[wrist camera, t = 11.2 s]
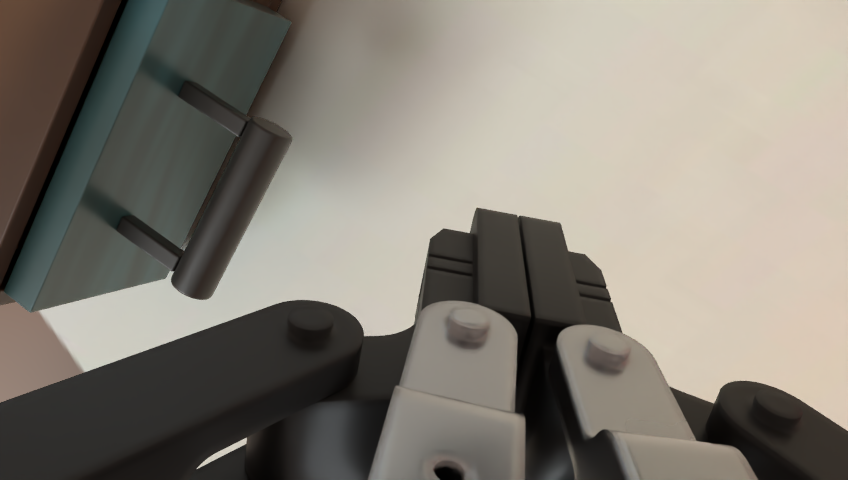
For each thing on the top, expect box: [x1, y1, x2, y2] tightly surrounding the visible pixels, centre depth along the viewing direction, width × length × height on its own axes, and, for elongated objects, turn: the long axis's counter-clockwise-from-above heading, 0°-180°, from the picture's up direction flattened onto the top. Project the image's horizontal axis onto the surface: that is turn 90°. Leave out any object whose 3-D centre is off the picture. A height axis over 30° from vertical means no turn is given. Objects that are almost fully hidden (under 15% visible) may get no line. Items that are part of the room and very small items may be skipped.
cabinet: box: [0, 0, 282, 305], centre depth 26 cm, size 12×12×8 cm
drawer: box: [4, 0, 292, 312], centre depth 25 cm, size 15×11×7 cm
